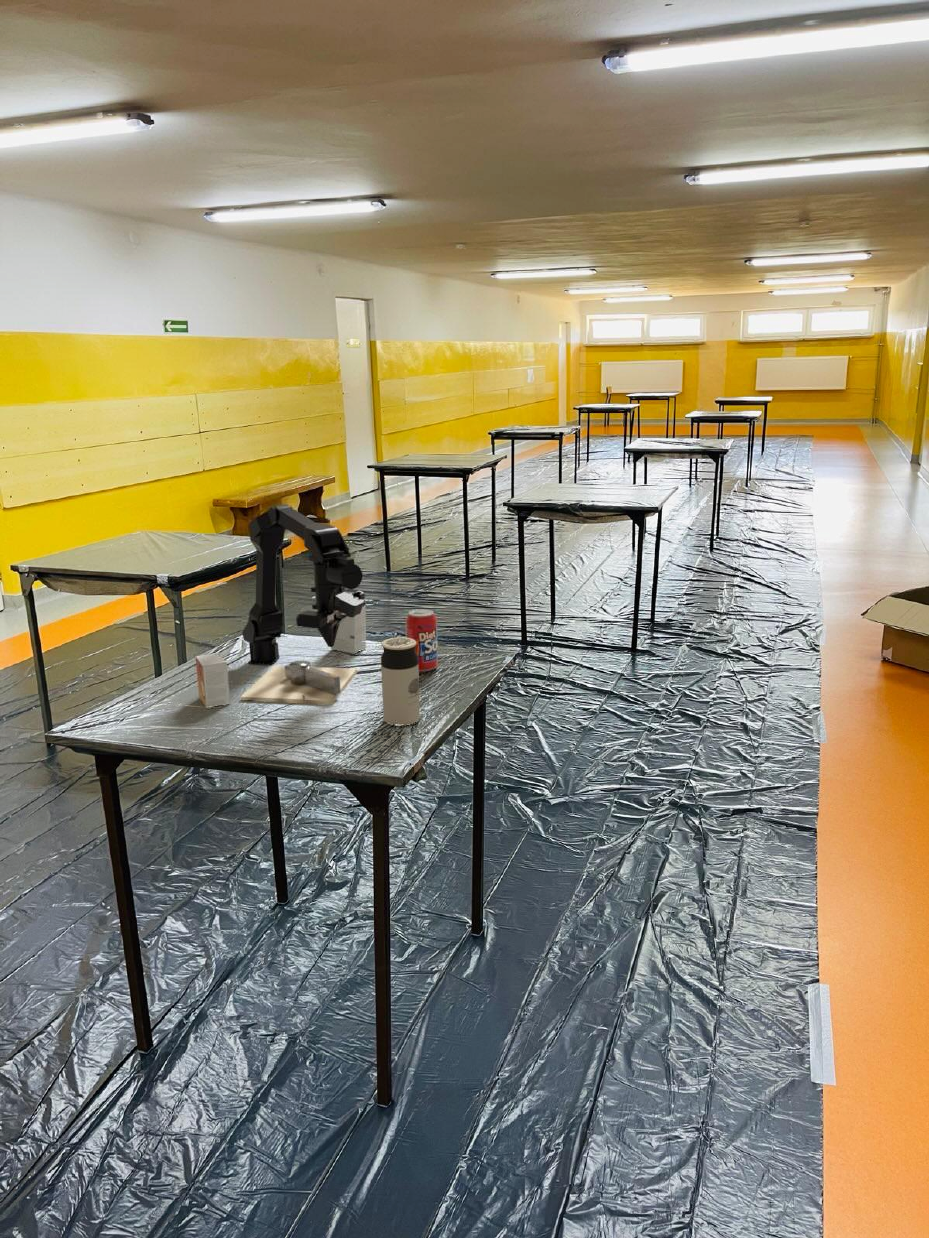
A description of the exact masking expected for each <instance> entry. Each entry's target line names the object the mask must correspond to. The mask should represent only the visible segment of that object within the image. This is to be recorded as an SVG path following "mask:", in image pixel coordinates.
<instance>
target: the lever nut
mask: <svg viewBox="0 0 929 1238" xmlns="http://www.w3.org/2000/svg"><path fill="white" fill-rule="evenodd" d="M284 666H285V677H286V678H289V679H290V680H291V683H292V684H296V685H302V684H306V685H309V686H312V687H315V688H318V689H320V690H323V691H326V692H329V693H332V694H335V695H336V694H338V693H341V694H342V692H340V677H339V676H336V675H333V674H330V673H327V672H324V671H321V670H318V669H314V668H311V667H312V666H311V662H310V661H308V660H295V661H292V662H290V663H289V664H286V665H284Z"/></svg>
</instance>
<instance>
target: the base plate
mask: <svg viewBox="0 0 929 1238" xmlns="http://www.w3.org/2000/svg"><path fill="white" fill-rule="evenodd" d="M285 666H286V665H273V666H272V667H271V668H270V669H268V671H266V672H265V673H264V674H263V675H262V676H261V677H260V678H259V679H257V681H256V682H255V683H253V685H251V686H250V687H249V688H248V689H247V690H246V691H245V692H244V693H243V694H242V695H240V701H241V700H253V701H252V702H259V701H260V703H261V702H262V703H265V702H266V703H281V702H283V704H284V703H285V704H287V703H288V704H305V705H306V704H307V705H309V704H310V705H327V706H328V705H330V706H332V705H333V704H334V703H335V701H336V700H337V699H338V698H339V696H340V695H341V694H342V693H343V691H344V690H345V689H346V687H347V686H348V684H349V683H350V682H351V681H352V680H353V679H354V677H356V674H358V669H357V668H351V667H349V668H347V667H322V666H321V667H319V666H317V667H316V666H311V668H314V669H318V670H321V671H324V672H327V673H330V674H333V675H336V676H339V677H340V692H341V693H338V694H336V695H335V694H332V693H329V692H326V691H323V690H320V689H318V688H315V687H312V686H309V685H306V684H302V685H296V684H292V683H291V680H290V679H289V678H286V677H285Z"/></svg>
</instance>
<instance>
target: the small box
mask: <svg viewBox="0 0 929 1238" xmlns="http://www.w3.org/2000/svg"><path fill="white" fill-rule="evenodd" d="M195 665H196V677H197V686H198V687H197V688H198V696H199V697H200V698H201V699H200V698H199V699H200V700H201V702H202V701H203V702H202V703H203V705H204V704H205V705H204V707H205V706H206V707H209V706H215V705H223V704H227V703H230V704H231V701H230V700H231V698H230V697H231V696H230V689H229V687H230V685H229V674H228V664H227V661H225V659H224V658H223V657H222V656H221V653H220V652H215V653H209V654H208V653H207V654H203V655H196V656H195ZM206 707H205V708H206Z"/></svg>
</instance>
